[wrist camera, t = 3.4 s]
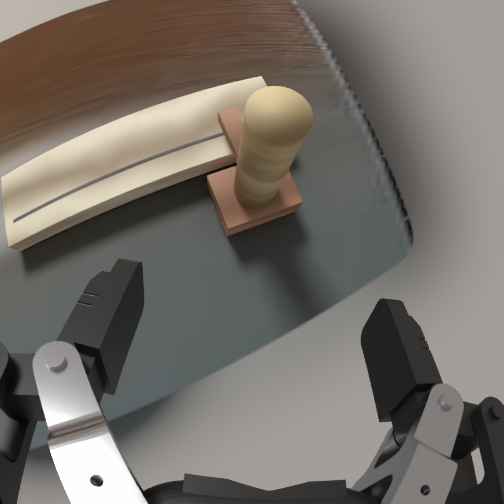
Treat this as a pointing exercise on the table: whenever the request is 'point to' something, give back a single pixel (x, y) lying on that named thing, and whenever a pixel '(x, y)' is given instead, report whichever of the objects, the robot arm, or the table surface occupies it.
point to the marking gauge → (260, 159)
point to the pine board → (120, 163)
